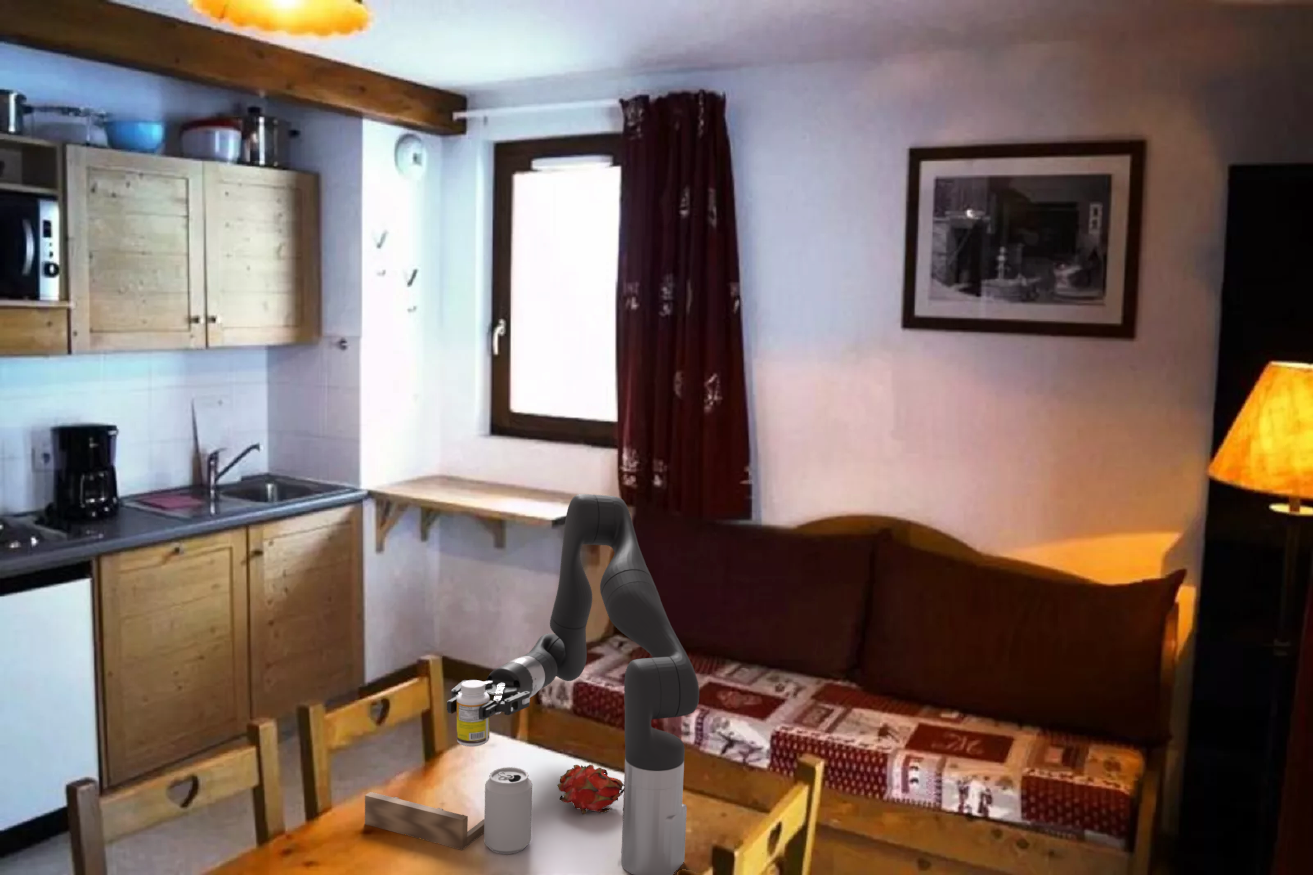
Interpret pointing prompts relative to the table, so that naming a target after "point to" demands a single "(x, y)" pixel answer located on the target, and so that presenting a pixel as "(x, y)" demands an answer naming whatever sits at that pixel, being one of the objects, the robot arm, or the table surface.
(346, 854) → the table surface
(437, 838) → the l-shaped bracket
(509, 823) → the can
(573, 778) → the dragon fruit
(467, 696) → the supplement bottle
